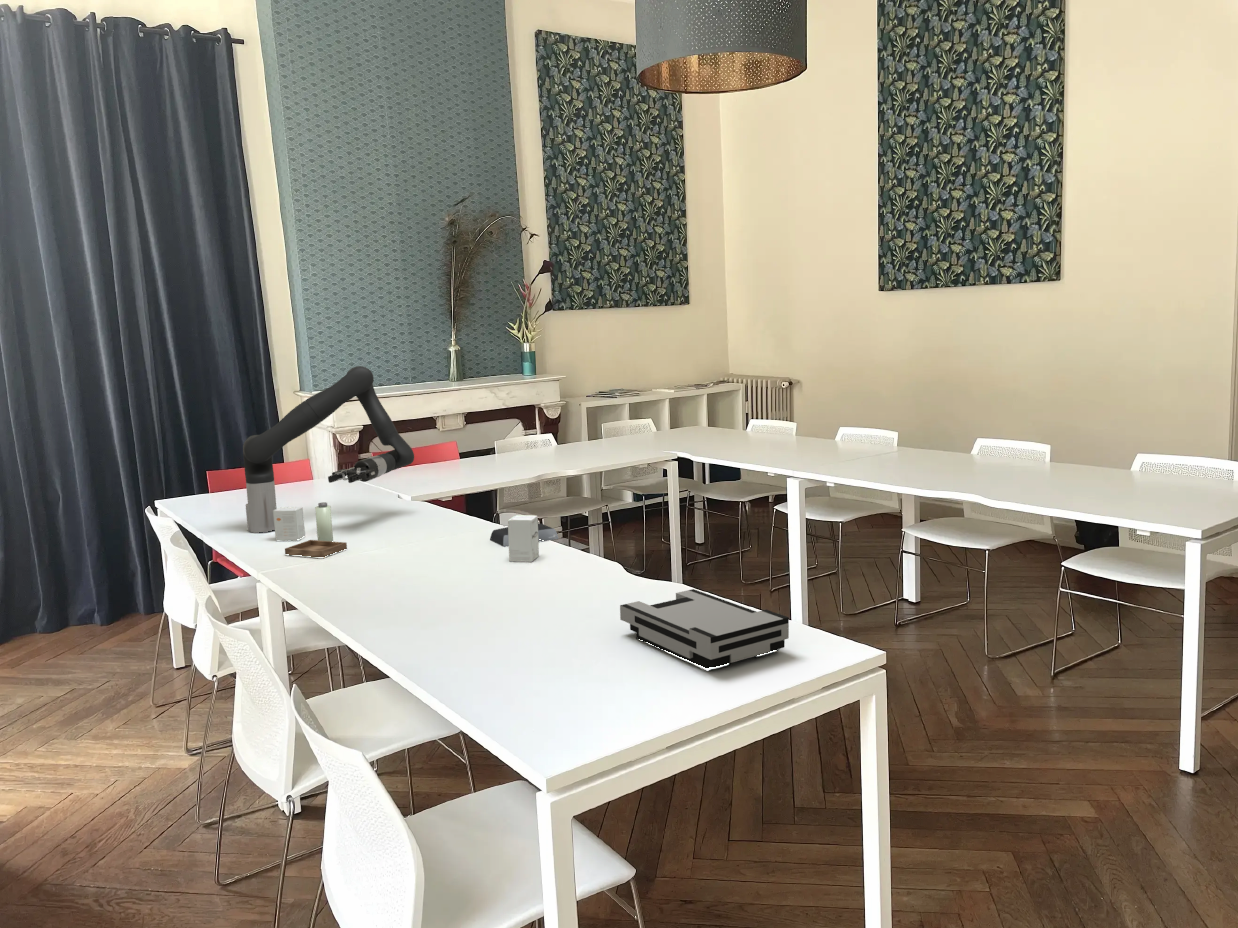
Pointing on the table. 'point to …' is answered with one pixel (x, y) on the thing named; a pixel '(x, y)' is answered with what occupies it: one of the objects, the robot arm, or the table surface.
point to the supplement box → (523, 538)
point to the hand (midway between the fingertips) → (339, 479)
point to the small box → (289, 523)
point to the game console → (706, 628)
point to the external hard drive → (543, 533)
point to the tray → (316, 548)
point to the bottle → (324, 522)
